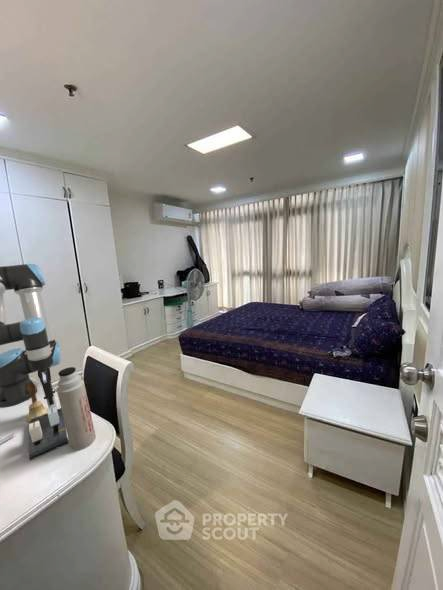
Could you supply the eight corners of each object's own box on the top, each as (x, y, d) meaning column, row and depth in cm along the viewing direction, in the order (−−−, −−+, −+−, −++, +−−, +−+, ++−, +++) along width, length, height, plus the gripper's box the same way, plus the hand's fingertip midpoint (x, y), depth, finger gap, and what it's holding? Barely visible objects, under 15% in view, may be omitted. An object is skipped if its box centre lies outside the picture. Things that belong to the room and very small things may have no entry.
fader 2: (51, 424, 96) (47, 409, 95) (59, 420, 98) (56, 406, 97) (51, 429, 93) (47, 414, 92) (60, 426, 95) (56, 411, 93)
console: (31, 425, 99) (30, 419, 98) (63, 412, 105) (62, 407, 105) (29, 460, 81) (27, 454, 81) (68, 443, 88) (66, 436, 87)
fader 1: (33, 439, 89) (29, 423, 88) (43, 435, 90) (38, 420, 89) (33, 446, 86) (28, 430, 84) (43, 442, 87) (38, 426, 86)
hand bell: (46, 406, 111) (38, 374, 107) (52, 413, 105) (43, 379, 102) (23, 417, 104) (14, 383, 101) (28, 425, 99) (19, 389, 96)
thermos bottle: (100, 434, 91) (85, 364, 85) (84, 451, 83) (67, 376, 77) (82, 432, 92) (66, 364, 87) (65, 449, 85) (46, 376, 79)
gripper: (29, 355, 99) (42, 406, 104) (27, 365, 89) (42, 422, 94) (51, 349, 104) (63, 399, 108) (52, 359, 93) (65, 413, 98)
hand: (53, 409), depth 101 cm, fingers closed
